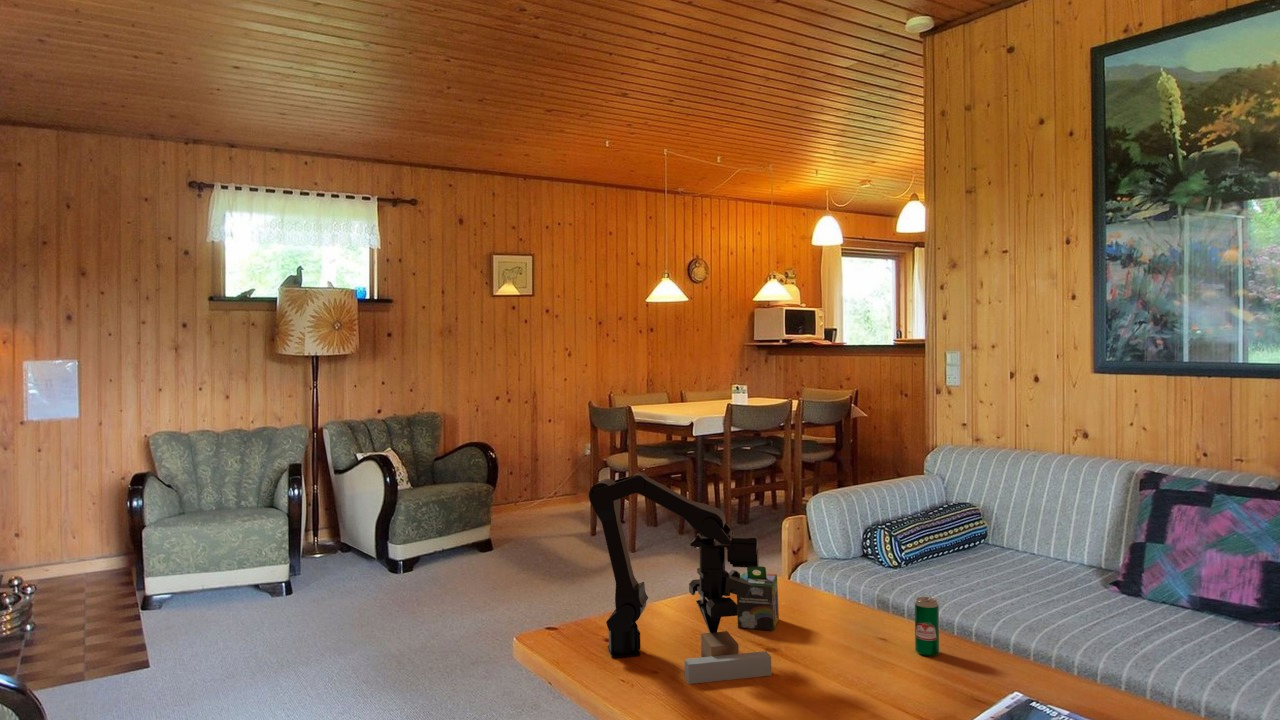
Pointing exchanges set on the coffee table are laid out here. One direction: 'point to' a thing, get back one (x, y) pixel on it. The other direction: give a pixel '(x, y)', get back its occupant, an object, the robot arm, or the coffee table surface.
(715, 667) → the batten
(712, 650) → the walnut brick
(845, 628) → the coffee table surface
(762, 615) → the chalk box
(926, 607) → the soda can
